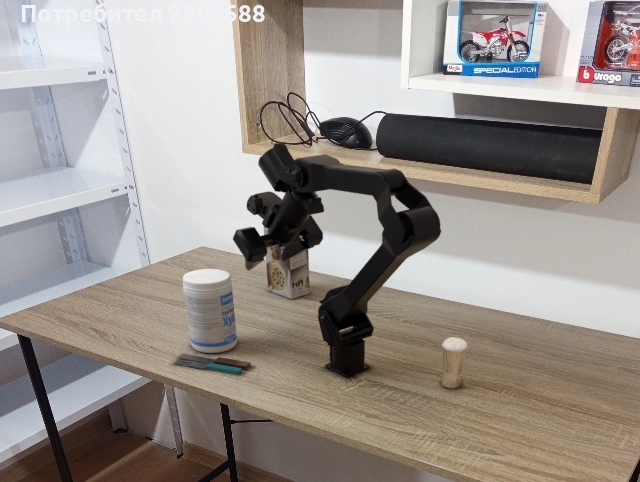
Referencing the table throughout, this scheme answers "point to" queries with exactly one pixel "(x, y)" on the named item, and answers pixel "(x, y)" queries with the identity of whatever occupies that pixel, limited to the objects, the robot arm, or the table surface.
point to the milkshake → (453, 361)
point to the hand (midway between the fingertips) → (265, 264)
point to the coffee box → (287, 272)
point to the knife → (218, 361)
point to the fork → (209, 366)
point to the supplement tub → (210, 310)
